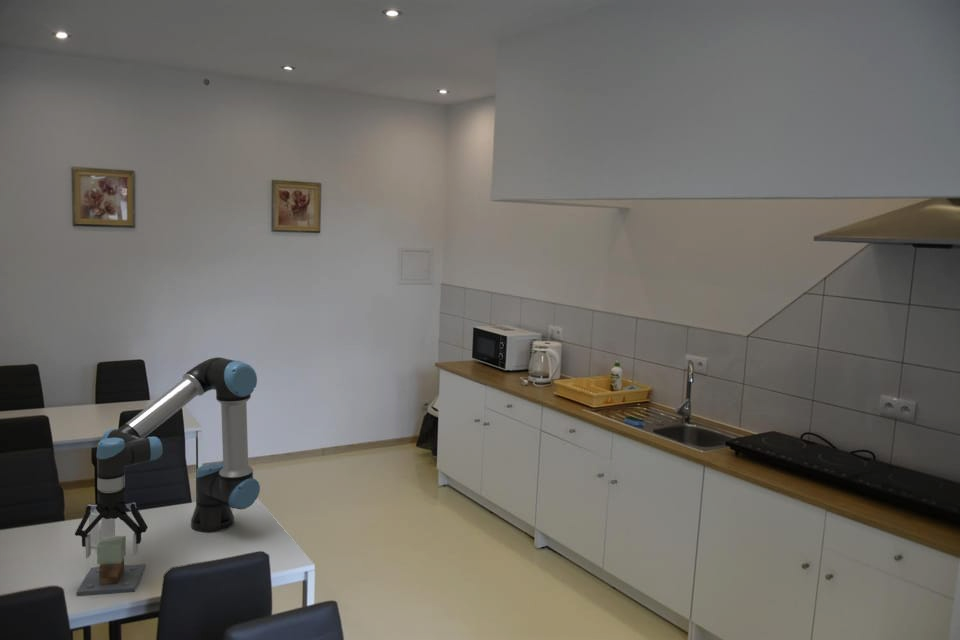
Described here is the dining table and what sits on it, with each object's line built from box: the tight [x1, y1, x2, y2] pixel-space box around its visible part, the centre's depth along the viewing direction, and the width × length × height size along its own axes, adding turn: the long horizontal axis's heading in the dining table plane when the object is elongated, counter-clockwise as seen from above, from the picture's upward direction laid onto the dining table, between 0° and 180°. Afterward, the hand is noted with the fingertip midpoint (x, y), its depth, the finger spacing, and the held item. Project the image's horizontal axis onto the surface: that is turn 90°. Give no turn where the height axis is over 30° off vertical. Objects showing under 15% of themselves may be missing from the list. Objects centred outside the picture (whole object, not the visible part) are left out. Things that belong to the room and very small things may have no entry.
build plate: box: [75, 563, 146, 597], centre depth 223 cm, size 16×16×2 cm
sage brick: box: [96, 535, 127, 566], centre depth 221 cm, size 6×6×6 cm
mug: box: [88, 509, 116, 548], centre depth 246 cm, size 12×8×12 cm
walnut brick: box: [98, 557, 125, 585], centre depth 222 cm, size 5×9×6 cm, turn 14°
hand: (112, 554), depth 222 cm, fingers open, 13 cm apart
